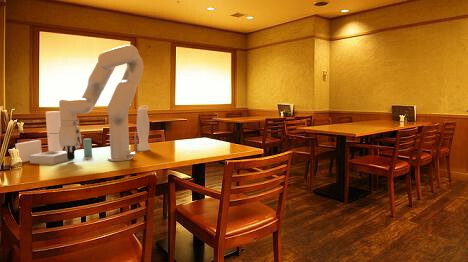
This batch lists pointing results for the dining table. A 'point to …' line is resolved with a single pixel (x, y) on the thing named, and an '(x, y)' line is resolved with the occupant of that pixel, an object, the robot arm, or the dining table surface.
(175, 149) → the dining table surface
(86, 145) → the dowel
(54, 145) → the cylindrical container
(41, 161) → the socket block
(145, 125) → the white bottle
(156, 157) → the dining table surface
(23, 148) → the wall
